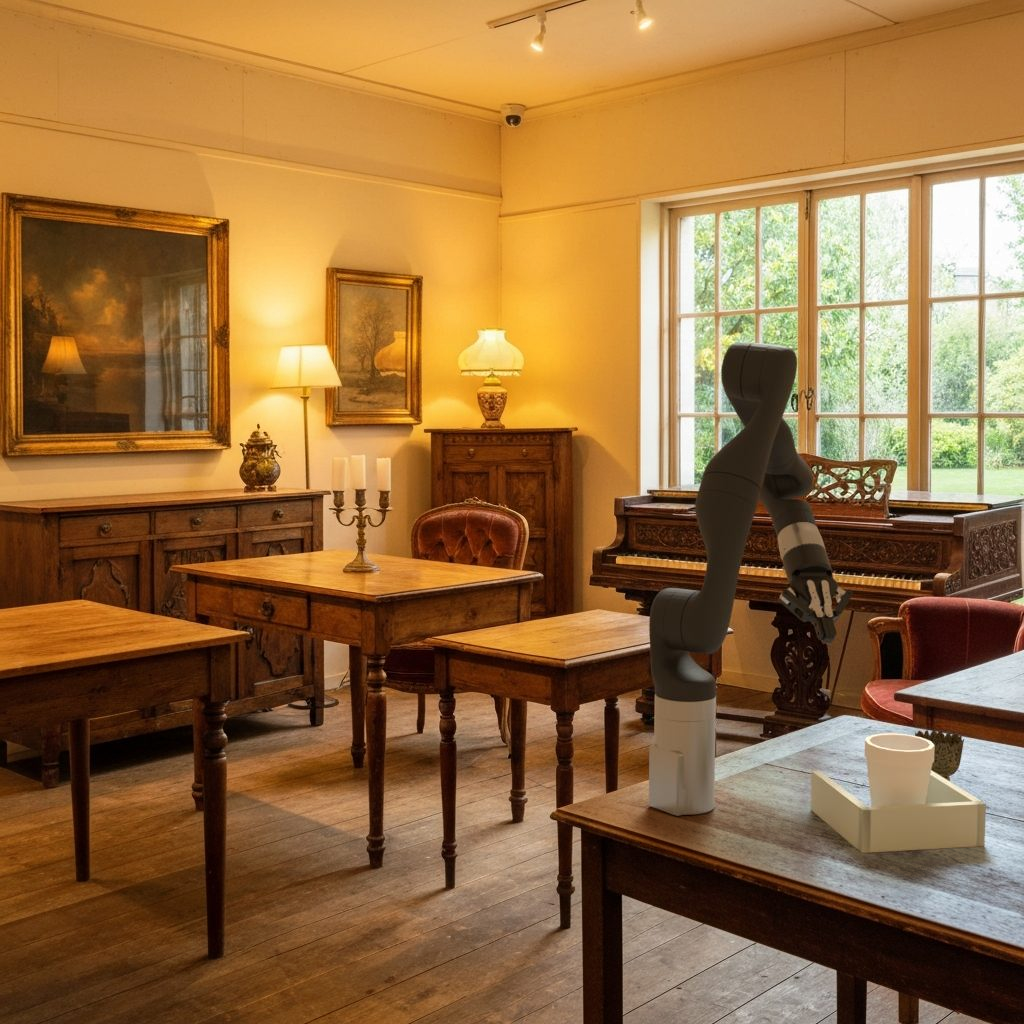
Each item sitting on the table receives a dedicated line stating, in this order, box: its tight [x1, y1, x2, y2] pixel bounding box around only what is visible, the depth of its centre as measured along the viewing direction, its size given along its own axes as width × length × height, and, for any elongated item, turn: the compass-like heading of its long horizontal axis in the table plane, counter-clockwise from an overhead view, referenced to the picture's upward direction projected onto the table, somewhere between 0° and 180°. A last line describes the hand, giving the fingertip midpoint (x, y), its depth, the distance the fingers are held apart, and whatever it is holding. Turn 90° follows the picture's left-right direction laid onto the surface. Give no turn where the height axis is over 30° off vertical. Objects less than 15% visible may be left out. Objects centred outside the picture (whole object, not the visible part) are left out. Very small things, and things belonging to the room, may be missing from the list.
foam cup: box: [864, 732, 935, 807], centre depth 176 cm, size 10×9×13 cm
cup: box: [914, 729, 965, 782], centre depth 198 cm, size 8×7×8 cm
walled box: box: [810, 770, 987, 854], centre depth 178 cm, size 18×18×6 cm
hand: (828, 640), depth 200 cm, fingers closed
